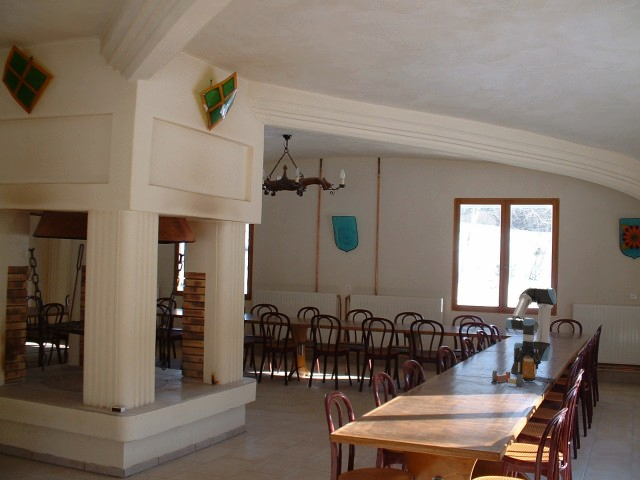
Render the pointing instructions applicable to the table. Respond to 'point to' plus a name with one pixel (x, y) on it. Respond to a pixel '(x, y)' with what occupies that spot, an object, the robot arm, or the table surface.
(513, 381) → the grey hammer
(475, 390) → the table surface
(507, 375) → the pink l-shaped bracket
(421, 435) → the table surface
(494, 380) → the post
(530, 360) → the canister
